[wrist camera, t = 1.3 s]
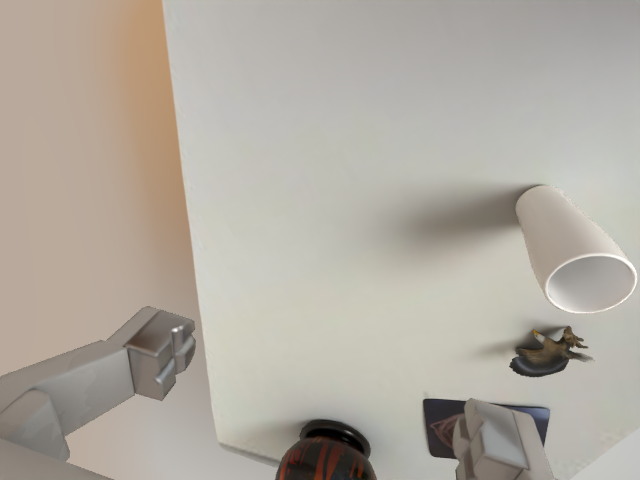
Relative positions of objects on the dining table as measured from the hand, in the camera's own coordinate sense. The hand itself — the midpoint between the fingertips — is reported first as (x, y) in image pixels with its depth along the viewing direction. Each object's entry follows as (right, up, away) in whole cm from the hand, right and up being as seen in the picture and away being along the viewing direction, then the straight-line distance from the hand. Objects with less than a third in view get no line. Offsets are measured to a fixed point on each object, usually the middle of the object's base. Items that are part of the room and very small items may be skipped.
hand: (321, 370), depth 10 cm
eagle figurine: (+33, -11, +42) cm, 55 cm away
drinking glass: (+26, +8, +32) cm, 42 cm away
